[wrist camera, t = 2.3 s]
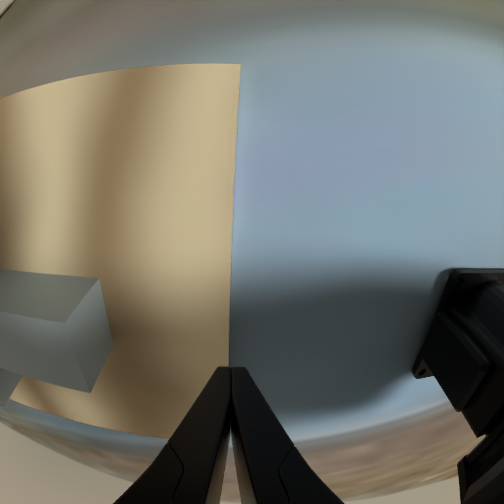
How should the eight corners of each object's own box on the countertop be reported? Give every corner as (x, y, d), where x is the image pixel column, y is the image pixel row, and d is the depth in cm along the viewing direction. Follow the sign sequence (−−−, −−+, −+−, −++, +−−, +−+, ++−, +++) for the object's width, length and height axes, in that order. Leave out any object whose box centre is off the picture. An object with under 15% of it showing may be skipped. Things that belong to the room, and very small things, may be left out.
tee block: (88, 188, 9) (40, 213, 6) (128, 394, 13) (114, 440, 10) (-58, 201, 8) (-96, 221, 6) (-8, 359, 12) (-30, 390, 10)
